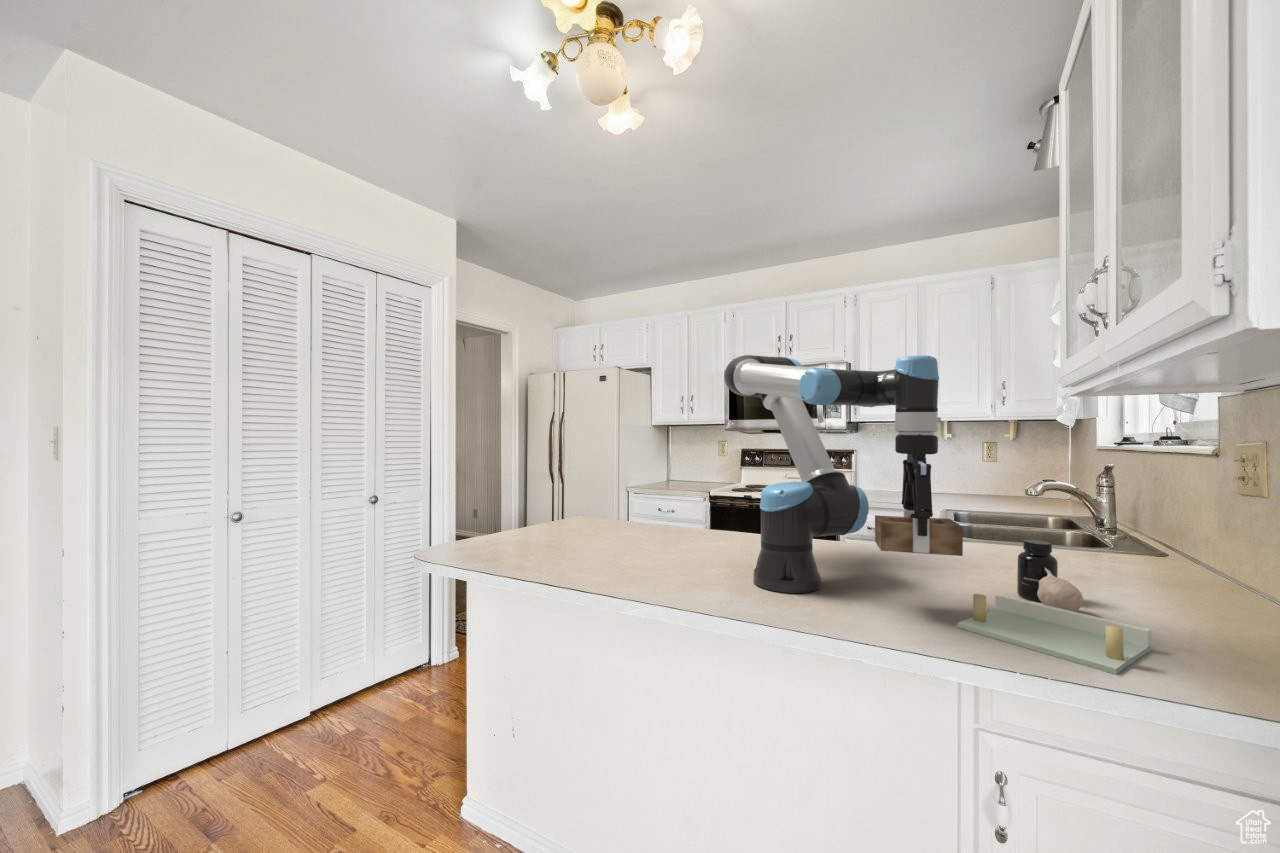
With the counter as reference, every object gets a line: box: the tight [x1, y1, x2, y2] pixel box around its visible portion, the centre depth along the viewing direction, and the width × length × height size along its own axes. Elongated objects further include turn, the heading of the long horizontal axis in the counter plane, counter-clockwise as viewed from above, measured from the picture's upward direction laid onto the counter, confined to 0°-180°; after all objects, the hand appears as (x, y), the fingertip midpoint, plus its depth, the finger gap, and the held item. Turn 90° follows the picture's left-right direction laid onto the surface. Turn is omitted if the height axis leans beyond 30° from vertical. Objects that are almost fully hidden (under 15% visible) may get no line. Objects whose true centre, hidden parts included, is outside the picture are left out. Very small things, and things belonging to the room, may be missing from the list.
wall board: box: [956, 593, 1152, 675], centre depth 90 cm, size 22×16×5 cm
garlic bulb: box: [1037, 568, 1084, 612], centre depth 103 cm, size 7×6×8 cm
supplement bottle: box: [1016, 539, 1059, 603], centre depth 111 cm, size 7×7×12 cm
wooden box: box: [874, 515, 964, 557], centre depth 104 cm, size 14×9×6 cm, turn 73°
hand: (915, 546), depth 104 cm, fingers closed on wooden box, 9 cm apart
